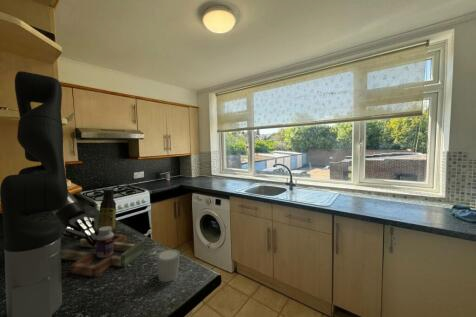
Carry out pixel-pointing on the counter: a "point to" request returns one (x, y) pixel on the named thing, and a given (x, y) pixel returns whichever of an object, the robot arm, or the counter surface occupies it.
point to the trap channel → (94, 270)
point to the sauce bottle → (107, 210)
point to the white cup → (168, 264)
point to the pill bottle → (104, 242)
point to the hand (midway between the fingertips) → (96, 243)
